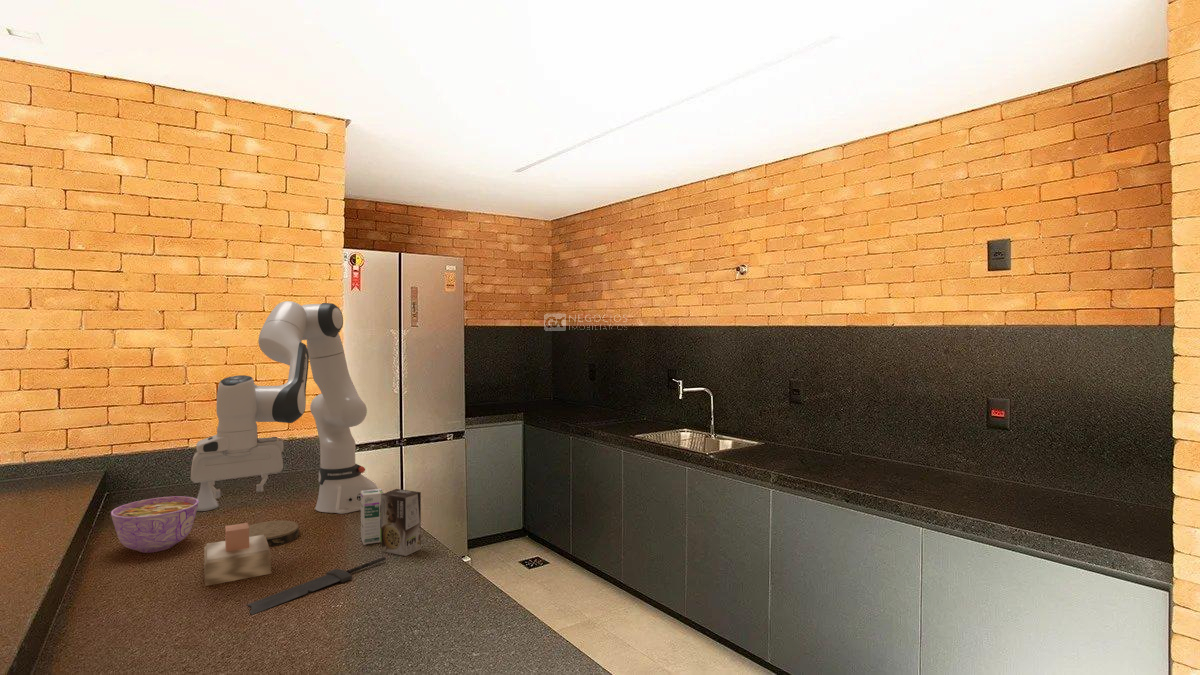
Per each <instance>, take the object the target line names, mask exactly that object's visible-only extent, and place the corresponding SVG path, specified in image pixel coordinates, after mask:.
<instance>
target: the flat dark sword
mask: <svg viewBox="0 0 1200 675" xmlns="http://www.w3.org/2000/svg"><path fill="white" fill-rule="evenodd" d="M386 560H387V558H386V557H385V556H382V557H380V558H376V559H375V560H374V559H373V560H372V561H369V562H366V563H364V564H361V565H358V566H356V567H353V568H350V569H348V570H345V569H341V568H335V569H331V570H329V571H326V574H325V575H323V576H319V577H317V578H315V579H312V580H309V581H306V582H304V583H300V584H298V585H296V586H293V587H291V588H288V589H285V590H282V591H279V592H277V593H274V594H271V595H269V596H266V597H263V598H260V599H258V600H255V601H253V602H250V603H247V604H246V606H247V607H248V608H249V607H250V611H249V614H250V615H251V616H253V615H255V614H258V613H261V612H263V611H266V610H269V609H270V608H274V607H276V606H279V605H281V604H284V603H287V602H289V601H292V600H294V599H296V598H299V597H301V596H305V595H307V594H309V593H311V592H315V591H318V590H321V589H323V588H327V587H329V586H331V585H333V584H335V583H345V582H348V581H350V580H352V579H353V575H352V573H355V572H359V571H360V570H363V569H365V568H368V567H371V566H374V565H376V564H379V563H381V562H383V561H384V562H385V561H386Z"/></svg>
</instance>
